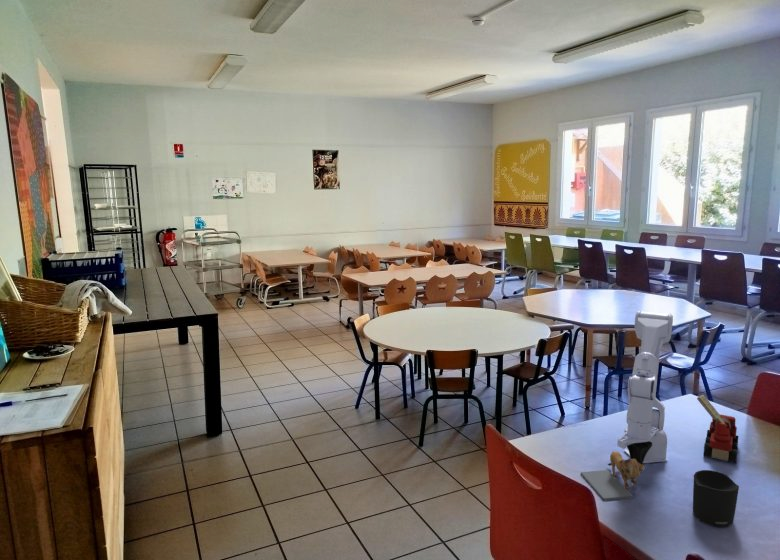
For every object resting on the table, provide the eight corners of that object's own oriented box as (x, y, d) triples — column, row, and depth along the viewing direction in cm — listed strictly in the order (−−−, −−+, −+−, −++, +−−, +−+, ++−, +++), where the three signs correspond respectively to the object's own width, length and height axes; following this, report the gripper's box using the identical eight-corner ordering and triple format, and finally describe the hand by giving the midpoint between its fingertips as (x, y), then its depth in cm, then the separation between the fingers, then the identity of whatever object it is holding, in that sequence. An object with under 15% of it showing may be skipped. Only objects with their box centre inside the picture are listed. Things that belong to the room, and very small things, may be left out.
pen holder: (686, 518, 132) (689, 481, 131) (696, 501, 139) (699, 466, 137) (730, 534, 126) (734, 495, 124) (738, 515, 133) (742, 478, 131)
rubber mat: (607, 471, 154) (607, 469, 154) (632, 497, 141) (632, 495, 141) (580, 474, 153) (580, 472, 153) (603, 500, 140) (603, 498, 140)
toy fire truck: (738, 445, 168) (743, 391, 165) (735, 467, 155) (741, 409, 152) (696, 436, 174) (701, 384, 171) (691, 456, 162) (695, 401, 159)
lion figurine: (651, 488, 143) (646, 459, 141) (634, 496, 142) (628, 467, 140) (615, 463, 157) (610, 435, 155) (600, 469, 156) (594, 442, 154)
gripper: (644, 408, 152) (641, 452, 154) (609, 419, 145) (606, 466, 147) (667, 417, 146) (663, 463, 148) (631, 429, 139) (628, 477, 141)
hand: (636, 465), depth 147 cm, fingers closed
